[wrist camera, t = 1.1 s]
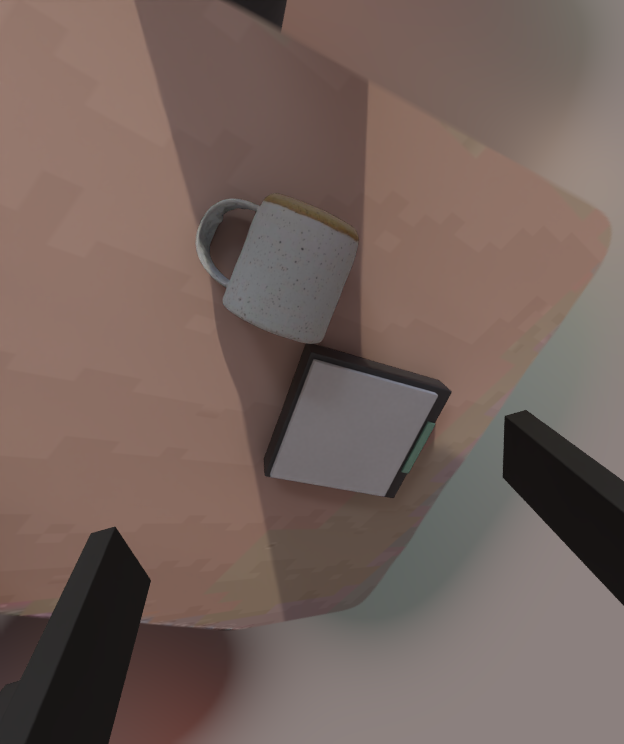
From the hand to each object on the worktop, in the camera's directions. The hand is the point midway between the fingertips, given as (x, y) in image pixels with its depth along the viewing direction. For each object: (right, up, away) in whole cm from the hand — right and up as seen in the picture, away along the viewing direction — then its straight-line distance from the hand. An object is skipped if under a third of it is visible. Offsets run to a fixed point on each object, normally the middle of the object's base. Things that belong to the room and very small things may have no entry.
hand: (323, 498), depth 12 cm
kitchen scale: (+3, 0, +23) cm, 24 cm away
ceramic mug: (-4, +13, +16) cm, 21 cm away
